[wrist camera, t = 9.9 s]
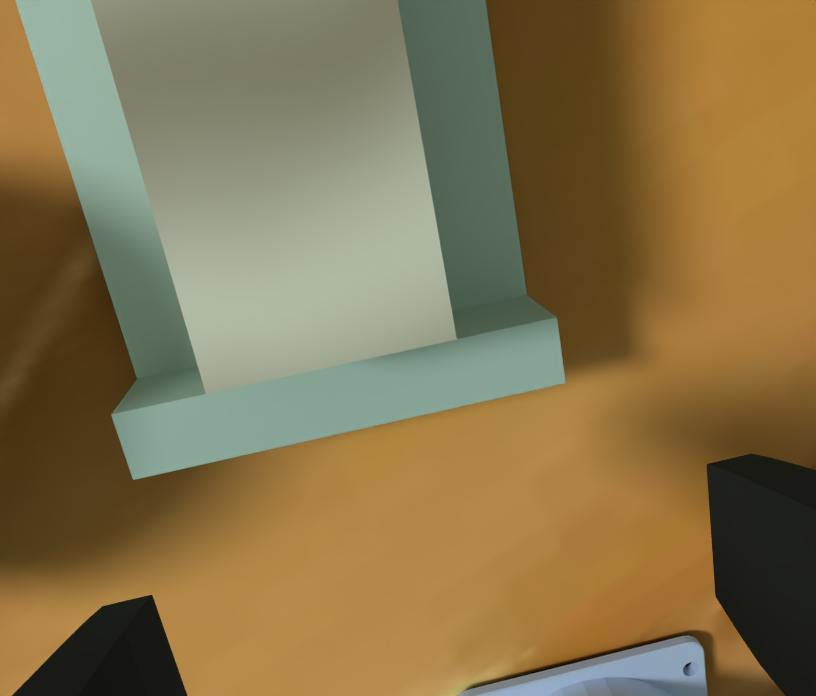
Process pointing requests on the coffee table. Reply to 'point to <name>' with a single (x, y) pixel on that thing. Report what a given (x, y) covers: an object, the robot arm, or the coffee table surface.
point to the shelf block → (282, 179)
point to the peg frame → (334, 386)
